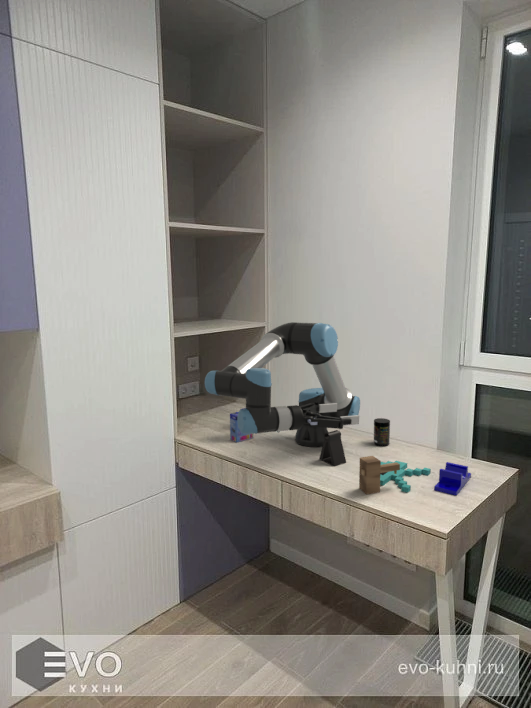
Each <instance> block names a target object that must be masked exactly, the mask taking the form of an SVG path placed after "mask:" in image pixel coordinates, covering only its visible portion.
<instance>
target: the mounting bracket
mask: <svg viewBox="0 0 531 708" xmlns="http://www.w3.org/2000/svg"><path fill="white" fill-rule="evenodd" d="M438 471H439V473H438V475H439V476H438V482H437V483H436V484H435V485H434V489H433V490H434V491H436V492H440V493H444V494H448V495H453V496H457V495H458V494H459V493H460V492H461V490H462V489H463V488H464V486H466V484H467V483H468V481H470V480H471V478H472V473H471V472H469V466H467V465H463V464H459V463H453V462H448V461H446V462H445V467H444V468H440V469H439V470H438Z"/></svg>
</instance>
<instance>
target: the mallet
mask: <svg viewBox="0 0 531 708" xmlns="http://www.w3.org/2000/svg"><path fill="white" fill-rule="evenodd" d="M381 462H382V461H381V460H380V459H379V458H377V457H375V456H374V455H367V456H362V457H359V473H358V475H359V476H358V477H359V480H358V481H359V483H358V489H359V490H361V492H362V493H364V494H365V495H373V494H378V493H380V492H381V485H380V473H384V472H390V471H394V474H397V470H400V464H399V463H397V462H395V461H394V462H395V463H389V464H383V465H381Z"/></svg>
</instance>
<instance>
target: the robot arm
mask: <svg viewBox="0 0 531 708" xmlns="http://www.w3.org/2000/svg"><path fill="white" fill-rule="evenodd" d="M338 339H339V337H338V334H337V331H336V329H335V328H334V327H333V326H332V324H328V323H322V322H287V323H283V324H281V325H279V326H276V327H274V328H272V329H271V330H269V331H267V333H265V334H264V335H262V337H261V339H260V341H259V342H257V343H256V344H255V345H254V346H252V347H251V348H249V349H248V350H247V351H246V352H244V353H243V354H242V355H240V356H239V357H237V358H236V359H235V360H234V361H232V362H231V363H229V364H228V365H227V366H225V367H224V368H223V369H222V370H218V369H217V370H210V371H209V372H207V374H206V375H205V377H204V388H205V390H206V392H208V394H211V395H215V396H219V397H220V396H221V397H222V396H223V397H228V398H229V397H230V398H237V399H245V407H244V409H243V408H240V409H241V410H239V411H237V412H238V417H237V421H238V427H239V430H240V431H241V432H242V433H243V434H253V435H254V434H255V435H257V434H263V433H275V432H276V433H278V434H279V433H280V432H284V431H285V432H286V431H296V432H295V436H294V439H295V440H294V441H295V443H296V444H297V445H299V446H303V447H313V448H315V447H316V448H317V447H323V444H324V440H325V437H324V435H325V433H328V432H329V430H328V429H336V430H338V429H339V430H343V429H344V426H351V425H352V426H354V425H359V424H360V415H359V414H360V410H361V399H360V397H359V396H356V395H353V394H352V392H351V390H350V389H349V388H347V387H346V386H345V383H344V380H343V378H342V375H341V373H340V370H339V367H338V364H337V362H336V359H335V357H334V356H335V355H336V353H337V351H338V346H339V341H338ZM288 354H292V355H303V356H304V359H305V361H306V362H307V363H308V364H309V365H312V367H313V371H314V372H315V374H316V377H317V378H318V379H317V380H318V381H319V383H320V387H312V388H306V389H304V390H302V391H300V392H299V395H298V401H297V402H298V404H297V405H296V404H295V405H287V406H286V405H281V406H272V405H271V404H272V403H271V401H272V399H271V398H272V384H273V383H272V373H271V370H269V369H268V368H265V367H264V366H266V365H267V364H268V363H269V362H271V361H272V360H273V359H274V358H275V359H276V358H280V357H281V356H282V355H288Z"/></svg>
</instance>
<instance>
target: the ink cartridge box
mask: <svg viewBox="0 0 531 708" xmlns="http://www.w3.org/2000/svg"><path fill="white" fill-rule="evenodd" d="M244 408H245V407H244ZM244 408H240V410H241V409H244ZM240 410H239V411H240ZM239 411H235V412H231V413H229V432H230V433H229V436H230V440H231V441H233V442H234V443H239V442H243V441H247V440H251V439H254V434H243V433H242V432H241V431H240V430H239V427H238V421H237V417H238V412H239Z"/></svg>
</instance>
